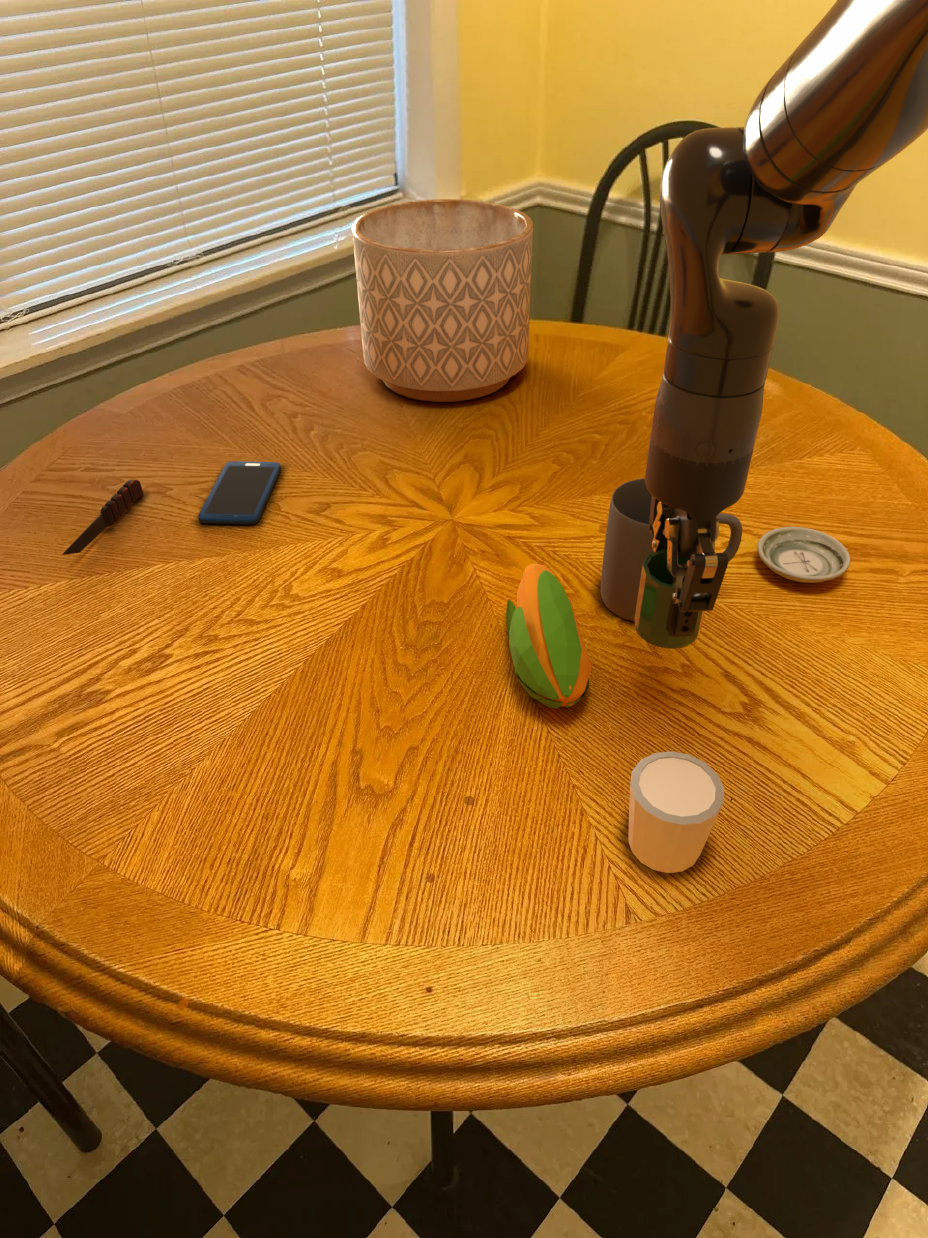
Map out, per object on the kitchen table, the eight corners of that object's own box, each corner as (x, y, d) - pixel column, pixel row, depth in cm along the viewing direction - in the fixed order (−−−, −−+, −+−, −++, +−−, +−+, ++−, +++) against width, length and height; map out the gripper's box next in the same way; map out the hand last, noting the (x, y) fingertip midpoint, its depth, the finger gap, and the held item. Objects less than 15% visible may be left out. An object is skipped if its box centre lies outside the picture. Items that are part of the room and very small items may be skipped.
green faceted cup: (707, 647, 73) (720, 587, 69) (642, 650, 73) (651, 590, 69) (690, 606, 78) (702, 547, 74) (628, 608, 78) (637, 549, 73)
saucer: (736, 553, 97) (740, 536, 96) (807, 536, 100) (812, 518, 98) (788, 604, 90) (793, 585, 89) (863, 584, 93) (870, 565, 91)
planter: (547, 400, 128) (555, 242, 113) (377, 418, 124) (363, 258, 109) (504, 335, 147) (507, 193, 132) (356, 349, 143) (342, 205, 128)
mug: (605, 625, 88) (617, 528, 80) (594, 572, 95) (604, 477, 87) (738, 624, 88) (763, 526, 80) (717, 570, 95) (738, 475, 87)
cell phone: (282, 466, 113) (281, 461, 113) (257, 525, 103) (256, 520, 102) (227, 465, 114) (226, 460, 113) (197, 524, 103) (195, 518, 103)
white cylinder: (681, 798, 71) (694, 740, 67) (725, 865, 66) (743, 809, 62) (605, 820, 70) (614, 763, 65) (645, 891, 65) (658, 834, 60)
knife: (73, 574, 96) (64, 552, 94) (65, 573, 96) (57, 551, 94) (145, 495, 109) (139, 474, 107) (138, 494, 109) (132, 473, 107)
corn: (523, 667, 72) (497, 533, 87) (514, 730, 77) (491, 592, 92) (610, 666, 73) (569, 533, 88) (596, 728, 78) (559, 591, 93)
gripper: (786, 482, 58) (738, 665, 69) (725, 389, 69) (692, 559, 80) (676, 486, 58) (645, 669, 69) (632, 392, 69) (612, 562, 80)
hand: (670, 609), depth 74 cm, fingers closed on green faceted cup, 5 cm apart
